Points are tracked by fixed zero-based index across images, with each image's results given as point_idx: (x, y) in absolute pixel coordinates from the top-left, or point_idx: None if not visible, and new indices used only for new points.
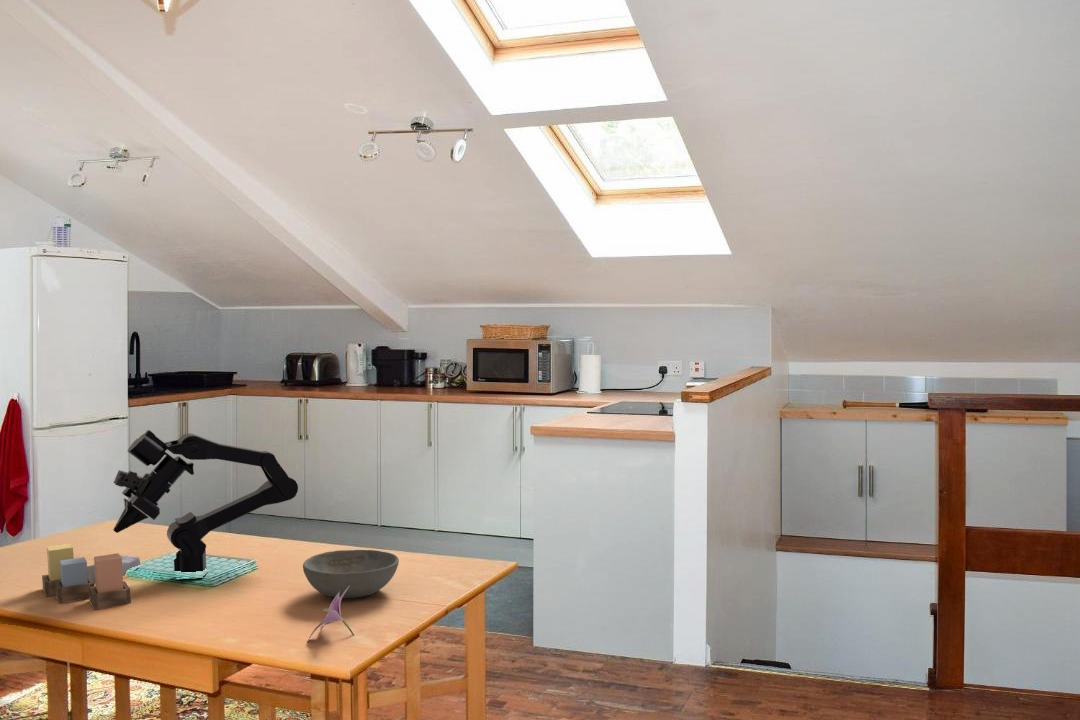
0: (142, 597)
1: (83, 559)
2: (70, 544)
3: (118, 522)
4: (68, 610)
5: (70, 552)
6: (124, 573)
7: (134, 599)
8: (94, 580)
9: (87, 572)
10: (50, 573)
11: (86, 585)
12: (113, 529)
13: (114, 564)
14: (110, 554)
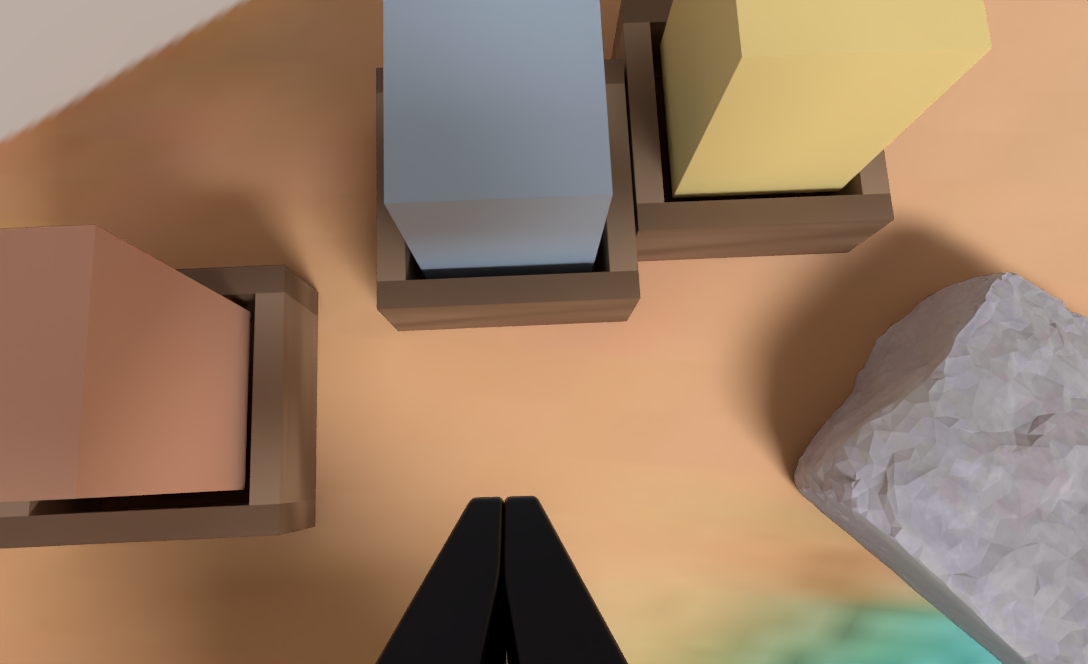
0: (173, 633)
1: (505, 181)
2: (922, 42)
3: (436, 615)
4: (192, 163)
5: (726, 60)
6: (907, 580)
7: (160, 572)
8: (868, 361)
9: (939, 308)
10: (673, 3)
11: (378, 255)
12: (516, 498)
13: None
14: (78, 404)
